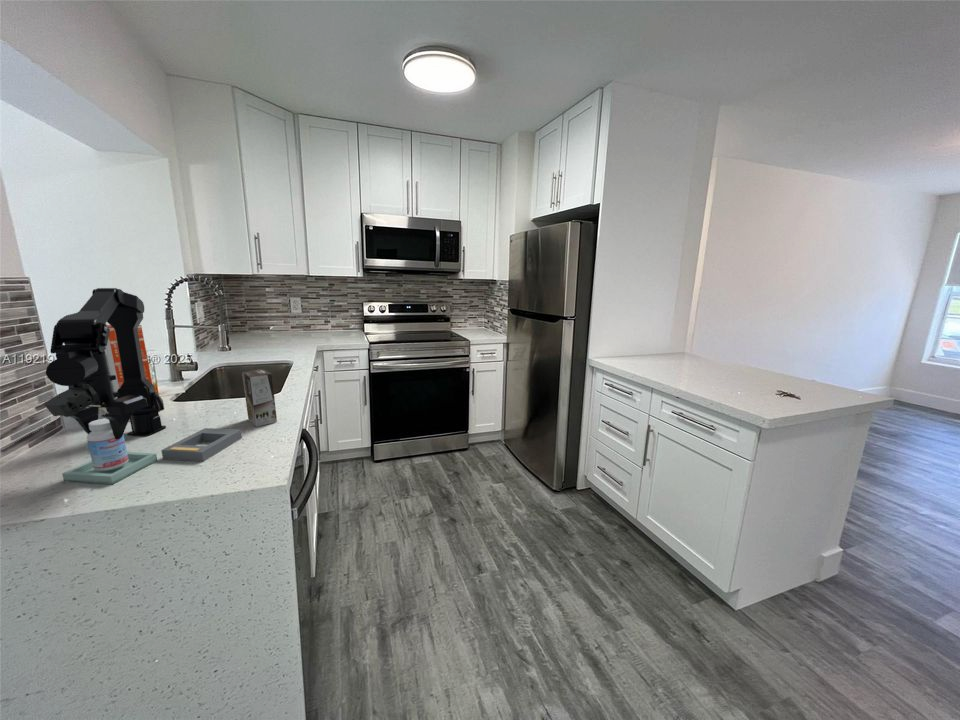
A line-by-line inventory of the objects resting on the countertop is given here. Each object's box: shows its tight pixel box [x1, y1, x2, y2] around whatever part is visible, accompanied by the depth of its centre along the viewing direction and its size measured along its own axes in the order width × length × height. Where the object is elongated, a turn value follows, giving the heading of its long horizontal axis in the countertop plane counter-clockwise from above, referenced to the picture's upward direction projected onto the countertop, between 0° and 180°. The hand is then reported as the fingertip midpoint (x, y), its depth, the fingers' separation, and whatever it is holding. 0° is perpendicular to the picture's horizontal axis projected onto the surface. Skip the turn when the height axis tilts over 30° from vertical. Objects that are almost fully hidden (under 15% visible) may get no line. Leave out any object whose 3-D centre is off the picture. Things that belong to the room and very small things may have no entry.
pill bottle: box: [86, 417, 129, 471], centre depth 89 cm, size 6×6×11 cm
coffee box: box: [241, 368, 278, 428], centre depth 120 cm, size 9×6×16 cm
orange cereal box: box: [99, 322, 153, 423], centre depth 124 cm, size 23×8×30 cm, turn 59°
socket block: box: [161, 427, 243, 462], centre depth 102 cm, size 11×14×3 cm
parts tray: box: [61, 451, 158, 485], centre depth 90 cm, size 12×11×2 cm
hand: (106, 437), depth 88 cm, fingers closed on pill bottle, 6 cm apart
